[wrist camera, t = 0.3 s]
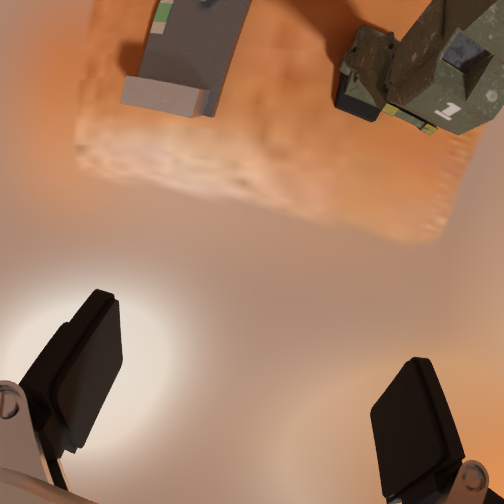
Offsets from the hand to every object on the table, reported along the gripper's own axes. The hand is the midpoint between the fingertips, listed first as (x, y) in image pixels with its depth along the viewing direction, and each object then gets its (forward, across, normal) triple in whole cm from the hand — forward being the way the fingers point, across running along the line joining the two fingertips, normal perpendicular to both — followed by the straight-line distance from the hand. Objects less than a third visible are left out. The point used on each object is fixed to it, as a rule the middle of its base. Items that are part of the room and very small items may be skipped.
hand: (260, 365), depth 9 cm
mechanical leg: (+31, -8, -14) cm, 35 cm away
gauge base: (+31, +12, -16) cm, 36 cm away
